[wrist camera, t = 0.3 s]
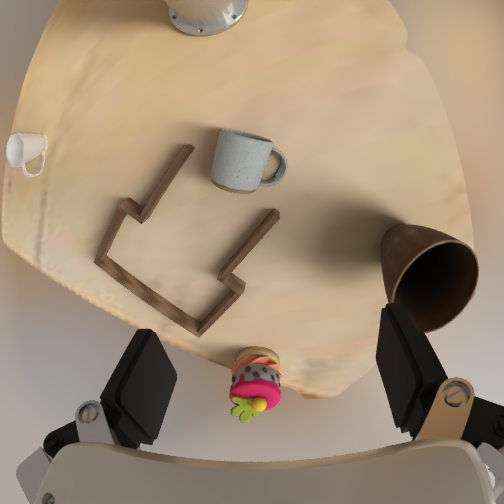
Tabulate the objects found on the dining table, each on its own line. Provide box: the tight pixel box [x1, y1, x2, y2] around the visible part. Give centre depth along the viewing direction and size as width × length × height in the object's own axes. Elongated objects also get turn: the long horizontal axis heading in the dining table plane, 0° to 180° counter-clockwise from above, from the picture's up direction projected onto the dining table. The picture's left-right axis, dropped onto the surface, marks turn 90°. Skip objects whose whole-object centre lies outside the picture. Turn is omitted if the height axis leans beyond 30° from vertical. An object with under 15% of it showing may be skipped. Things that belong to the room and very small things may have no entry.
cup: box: [6, 133, 47, 177], centre depth 38 cm, size 7×10×8 cm
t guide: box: [94, 144, 280, 337], centre depth 47 cm, size 26×29×3 cm
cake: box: [230, 346, 282, 423], centre depth 53 cm, size 10×11×15 cm
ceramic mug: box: [211, 129, 287, 194], centre depth 38 cm, size 11×8×8 cm
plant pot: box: [381, 224, 479, 333], centre depth 38 cm, size 15×15×16 cm
